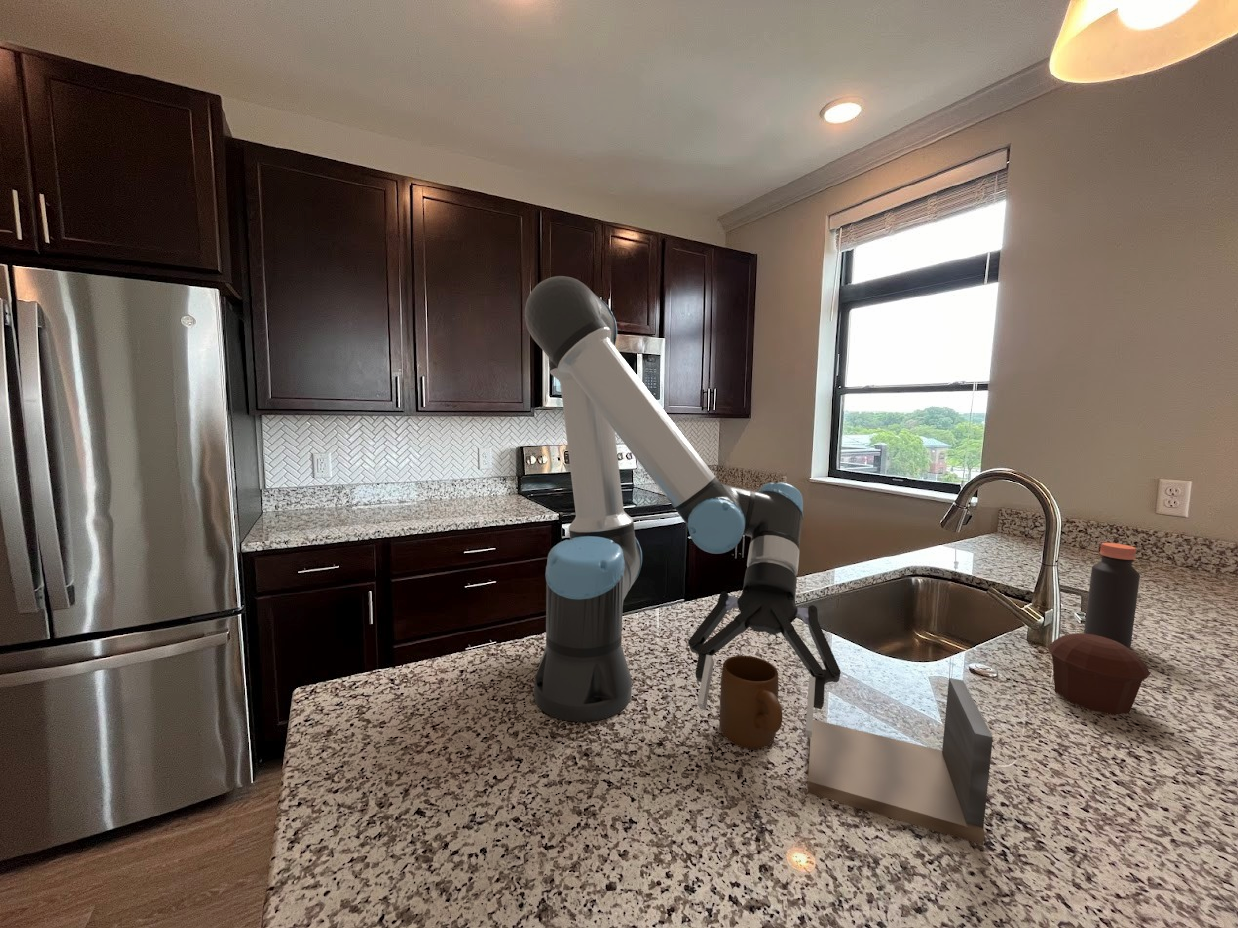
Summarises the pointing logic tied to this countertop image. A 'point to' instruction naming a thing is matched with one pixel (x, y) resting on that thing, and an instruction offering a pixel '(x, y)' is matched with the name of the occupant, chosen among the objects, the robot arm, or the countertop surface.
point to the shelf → (910, 771)
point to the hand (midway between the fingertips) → (752, 720)
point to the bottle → (1113, 594)
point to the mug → (749, 702)
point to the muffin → (1096, 672)
